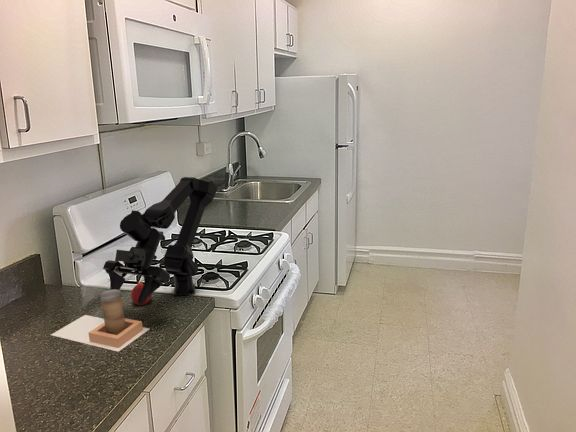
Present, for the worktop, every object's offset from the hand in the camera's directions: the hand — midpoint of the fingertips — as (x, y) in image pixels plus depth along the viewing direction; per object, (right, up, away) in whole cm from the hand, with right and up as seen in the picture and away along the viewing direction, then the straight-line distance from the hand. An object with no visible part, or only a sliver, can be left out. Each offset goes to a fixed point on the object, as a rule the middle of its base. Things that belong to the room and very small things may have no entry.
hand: (125, 301), depth 131 cm
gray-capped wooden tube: (-1, -9, -2) cm, 9 cm away
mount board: (-7, -9, 0) cm, 11 cm away
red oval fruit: (0, -5, +17) cm, 18 cm away
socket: (-1, -9, -2) cm, 9 cm away
